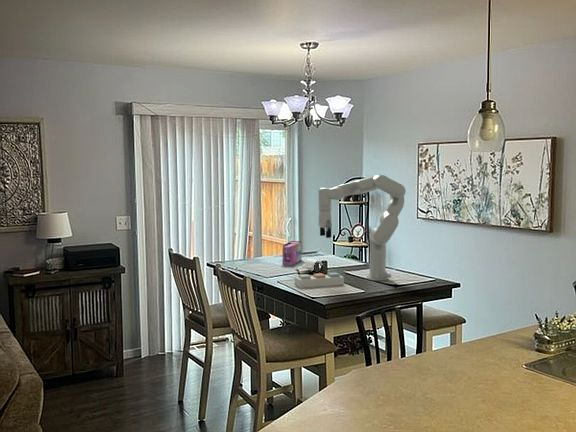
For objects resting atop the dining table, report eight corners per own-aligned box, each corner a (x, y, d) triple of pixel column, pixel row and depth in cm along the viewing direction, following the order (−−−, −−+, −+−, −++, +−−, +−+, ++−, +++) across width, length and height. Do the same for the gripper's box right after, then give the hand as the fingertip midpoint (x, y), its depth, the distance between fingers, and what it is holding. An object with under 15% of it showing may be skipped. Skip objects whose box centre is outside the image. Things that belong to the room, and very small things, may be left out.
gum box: (292, 265, 388) (292, 246, 386) (281, 265, 390) (281, 245, 389) (301, 259, 410) (301, 241, 409) (291, 259, 413) (291, 240, 411)
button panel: (337, 281, 337) (337, 274, 337) (343, 284, 328) (343, 277, 328) (294, 284, 329) (294, 276, 329) (299, 287, 321) (299, 280, 320)
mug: (313, 269, 373) (313, 257, 372) (323, 272, 365) (323, 260, 364) (299, 271, 367) (299, 259, 366) (308, 274, 358) (308, 262, 357)
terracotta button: (322, 278, 332) (322, 273, 332) (325, 280, 327) (325, 275, 326) (313, 278, 330) (313, 273, 330) (316, 280, 325) (316, 275, 325)
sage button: (307, 279, 329) (307, 274, 329) (310, 281, 324) (310, 276, 324) (298, 279, 328) (298, 274, 327) (301, 281, 323) (301, 276, 322)
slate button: (336, 277, 334) (336, 272, 334) (339, 279, 329) (339, 274, 329) (327, 277, 333) (327, 272, 333) (331, 279, 328) (331, 274, 327)
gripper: (314, 207, 345) (314, 235, 347) (324, 209, 329) (325, 238, 331) (325, 207, 348) (326, 234, 349) (336, 209, 331) (336, 238, 333)
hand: (325, 236), depth 340 cm, fingers open, 9 cm apart
